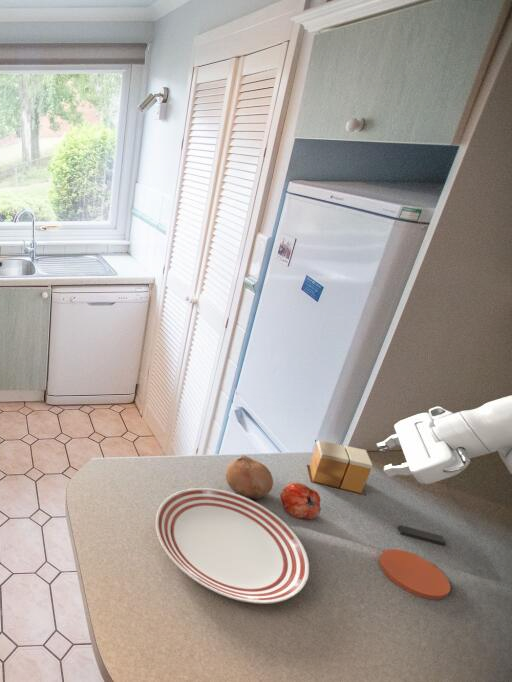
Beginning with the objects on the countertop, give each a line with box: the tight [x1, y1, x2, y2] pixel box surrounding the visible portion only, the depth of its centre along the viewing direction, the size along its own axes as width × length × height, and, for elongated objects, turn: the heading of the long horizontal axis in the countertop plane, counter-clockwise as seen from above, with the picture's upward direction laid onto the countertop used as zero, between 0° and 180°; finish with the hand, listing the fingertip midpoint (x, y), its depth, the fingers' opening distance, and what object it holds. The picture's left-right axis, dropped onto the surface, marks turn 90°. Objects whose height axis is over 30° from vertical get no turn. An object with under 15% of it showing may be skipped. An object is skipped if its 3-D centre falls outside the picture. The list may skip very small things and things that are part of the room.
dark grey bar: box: [397, 524, 447, 547], centre depth 95 cm, size 20×2×2 cm, turn 65°
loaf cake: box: [306, 439, 368, 497], centre depth 106 cm, size 11×7×9 cm, turn 65°
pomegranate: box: [279, 482, 322, 520], centre depth 98 cm, size 7×7×10 cm
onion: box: [225, 454, 274, 501], centre depth 103 cm, size 10×9×10 cm
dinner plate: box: [155, 487, 310, 605], centre depth 90 cm, size 28×27×3 cm
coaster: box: [378, 548, 451, 600], centre depth 85 cm, size 10×10×1 cm
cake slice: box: [340, 445, 373, 493], centre depth 105 cm, size 4×6×8 cm, turn 155°
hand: (381, 459), depth 102 cm, fingers open, 8 cm apart
